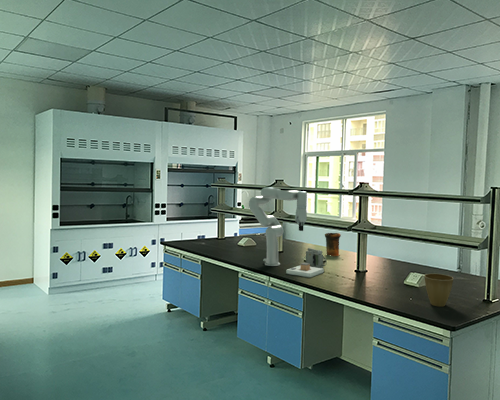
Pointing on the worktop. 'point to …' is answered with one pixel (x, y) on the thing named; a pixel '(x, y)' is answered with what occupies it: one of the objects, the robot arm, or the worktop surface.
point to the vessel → (332, 243)
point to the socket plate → (309, 273)
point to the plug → (305, 266)
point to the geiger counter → (315, 258)
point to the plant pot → (438, 288)
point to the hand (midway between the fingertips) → (300, 230)
